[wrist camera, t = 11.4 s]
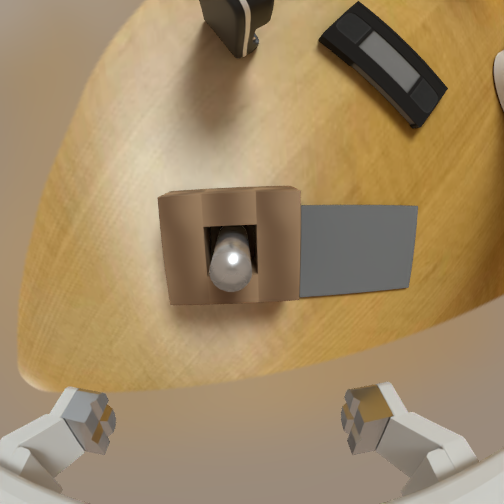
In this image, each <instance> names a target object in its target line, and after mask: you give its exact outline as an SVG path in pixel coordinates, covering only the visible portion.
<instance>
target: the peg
mask: <svg viewBox="0 0 504 504" xmlns="http://www.w3.org/2000/svg"><path fill="white" fill-rule="evenodd" d="M209 274H210V278H211V280H212V282H213V283H214V285H215V286H216V287H218V288H219V289H221V290H223V291H227V292H235V291H239V290H241V289H243V288H244V287H245V286H247V284H248V283H249V282H250V280H251V277H252V266H251V258H250V250H249V242H248V235H247V231H246V230H245V228H244V227H243V226H242V225H230V226H223V227H222V228H221V230H220V231H219V235H218V238H217V242H216V246H215V250H214V253H213V257H212V261H211V265H210V269H209Z"/></svg>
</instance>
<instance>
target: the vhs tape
mask: <svg viewBox="0 0 504 504" xmlns="http://www.w3.org/2000/svg"><path fill="white" fill-rule="evenodd" d="M319 42H321V43H322V44H323V45H325V46H326V47H327V48H328V49H330V50H331V51H332V52H333V53H335V54H336V55H337V56H338V57H339V58H341V59H342V60H343V61H344V62H345V63H347V64H348V65H349V66H352V67H353V68H354V69H355V70H356V71H357V72H359V73H360V74H361V75H362V76H363V77H364V78H365V79H366V80H367V81H368V82H369V83H370V84H372V85H373V86H374V87H375V88H376V89H377V90H378V91H379V92H380V93H381V94H382V95H383V96H384V97H385V98H386V99H387V100H388V101H389V102H390V103H391V104H392V105H393V106H394V107H395V108H396V110H397V111H398V112H399V113H400V114H401V115H402V116H403V117H404V118H405V119H406V120H407V121H408V123H409V124H410V126H411V128H420V127H421V126H422V125H423V124H424V122H425V121H426V119H427V118H428V117H429V115H430V114H431V112H432V111H433V109H434V108H435V107H436V105H437V104H438V102H439V101H440V99H441V98H442V96H443V95H444V94H445V92H446V90H447V89H448V88H447V87H446V86H445V84H444V83H443V82H442V81H441V80H440V78H439V77H438V76H437V75H436V74H435V73H434V71H433V70H432V69H431V68H430V67H429V66H428V65H427V64H426V63H425V61H424V60H423V59H422V58H421V57H420V56H419V55H418V54H417V53H416V52H415V51H414V50H413V49H412V48H411V47H410V46H409V45H408V44H407V43H406V42H405V41H404V40H403V39H402V38H401V37H400V36H399V35H398V34H397V33H396V32H395V31H393V30H392V29H391V28H390V27H389V26H388V25H387V24H386V23H385V22H383V21H382V20H381V19H380V18H379V17H378V16H376V15H375V14H374V13H373V12H372V11H370V10H369V9H368V8H367V7H365V6H364V5H363V4H362V3H360V2H359V1H358V2H357V3H355V4H354V5H353V6H352V7H351V8H350V9H348V10H347V11H346V12H345V13H344V14H343V15H342V16H341V17H340V18H339V19H337V20H336V21H335V22H334V23H333V24H332V25H331V26H330V27H329V28H328V29H327V30H326V31H325V32H324V33H323V34H322V35H321V37H320V38H319Z"/></svg>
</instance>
